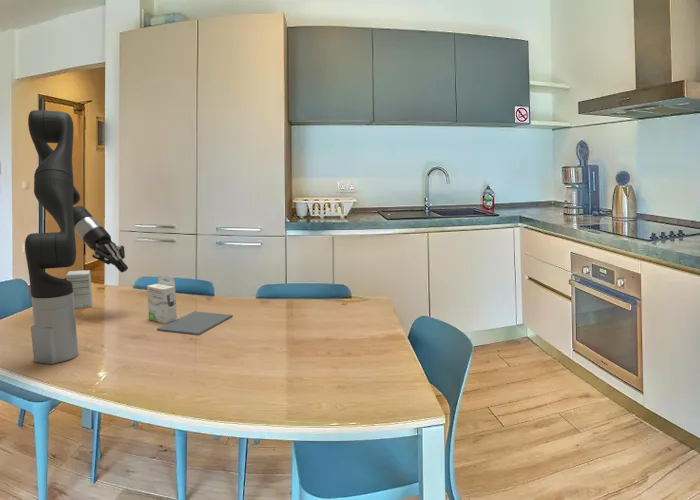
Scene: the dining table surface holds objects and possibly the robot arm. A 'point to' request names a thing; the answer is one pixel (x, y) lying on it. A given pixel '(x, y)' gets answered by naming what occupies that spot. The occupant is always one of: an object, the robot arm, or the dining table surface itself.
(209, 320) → the mat
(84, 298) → the supplement box
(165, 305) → the ink box
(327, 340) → the dining table surface
